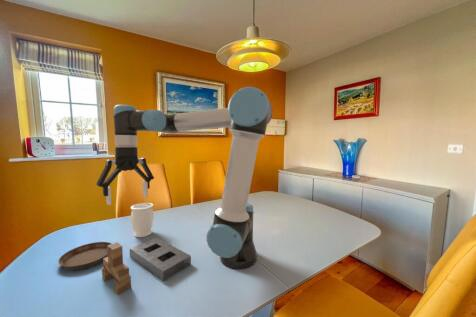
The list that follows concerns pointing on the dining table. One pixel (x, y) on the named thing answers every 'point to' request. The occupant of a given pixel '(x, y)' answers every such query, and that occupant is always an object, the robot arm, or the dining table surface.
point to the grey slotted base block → (160, 258)
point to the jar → (142, 219)
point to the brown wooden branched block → (116, 268)
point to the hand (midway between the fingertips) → (128, 200)
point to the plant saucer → (84, 256)
